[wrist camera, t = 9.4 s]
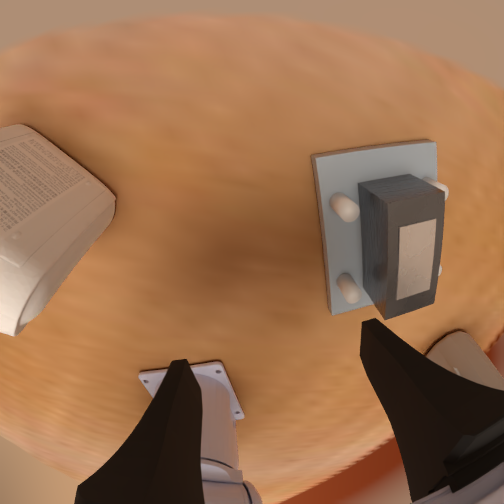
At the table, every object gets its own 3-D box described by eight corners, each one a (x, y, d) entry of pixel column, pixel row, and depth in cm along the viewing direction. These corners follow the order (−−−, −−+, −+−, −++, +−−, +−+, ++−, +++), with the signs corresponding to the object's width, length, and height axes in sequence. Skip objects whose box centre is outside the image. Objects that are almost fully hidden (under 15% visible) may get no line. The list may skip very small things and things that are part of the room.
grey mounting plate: (423, 280, 24) (441, 299, 21) (328, 307, 24) (339, 332, 21) (428, 139, 18) (453, 147, 15) (310, 155, 18) (325, 164, 15)
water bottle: (475, 337, 29) (572, 487, 7) (430, 380, 31) (508, 536, 9) (452, 308, 26) (579, 500, 4) (398, 360, 28) (492, 561, 6)
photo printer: (-1, 165, 16) (-124, 237, 5) (21, 114, 15) (-121, 157, 4) (98, 243, 20) (12, 378, 9) (128, 195, 18) (29, 319, 7)
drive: (407, 273, 22) (434, 304, 18) (362, 286, 22) (385, 321, 18) (409, 173, 18) (446, 192, 14) (357, 182, 18) (388, 204, 15)
